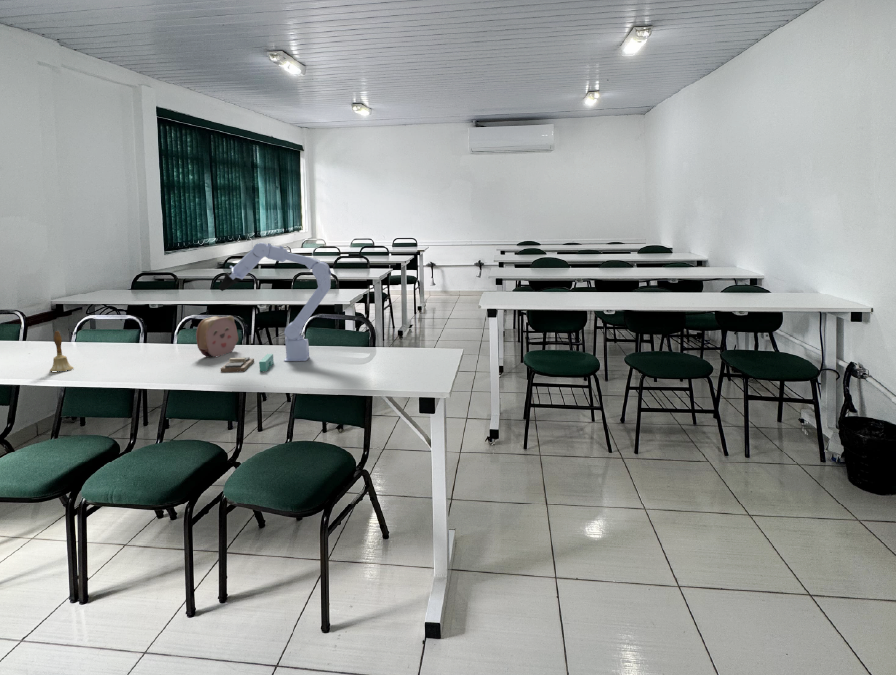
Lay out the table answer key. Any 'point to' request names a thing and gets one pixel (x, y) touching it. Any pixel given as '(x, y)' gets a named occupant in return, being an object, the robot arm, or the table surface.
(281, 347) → the table surface
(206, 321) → the face sculpture
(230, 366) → the display stand
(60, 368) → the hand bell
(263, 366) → the mint green bar
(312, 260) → the robot arm
